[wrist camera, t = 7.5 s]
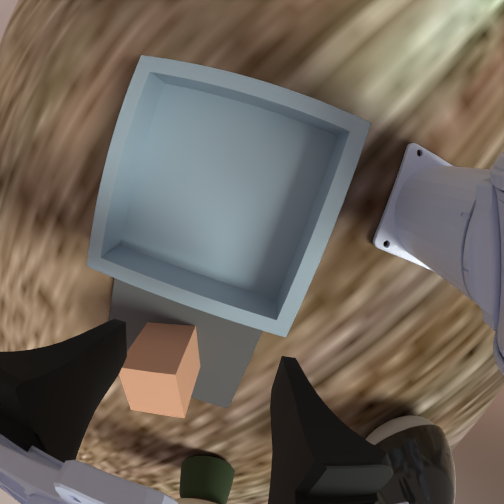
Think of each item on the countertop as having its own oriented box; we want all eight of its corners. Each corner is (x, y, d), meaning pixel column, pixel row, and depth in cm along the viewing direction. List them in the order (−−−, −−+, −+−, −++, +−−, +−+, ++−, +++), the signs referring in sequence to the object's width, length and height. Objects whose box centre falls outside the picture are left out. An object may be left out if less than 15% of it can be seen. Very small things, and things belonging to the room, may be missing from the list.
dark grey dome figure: (423, 443, 27) (459, 533, 12) (346, 464, 28) (365, 567, 13) (442, 390, 24) (501, 494, 10) (351, 415, 25) (384, 547, 10)
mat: (265, 319, 22) (265, 322, 22) (228, 404, 25) (227, 408, 24) (118, 267, 22) (115, 269, 21) (108, 360, 24) (105, 363, 24)
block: (195, 325, 22) (175, 374, 16) (200, 366, 23) (184, 417, 17) (147, 322, 22) (116, 366, 16) (155, 362, 23) (131, 409, 18)
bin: (353, 129, 18) (371, 122, 15) (283, 312, 22) (285, 337, 19) (159, 70, 17) (141, 55, 14) (109, 251, 21) (86, 266, 18)
